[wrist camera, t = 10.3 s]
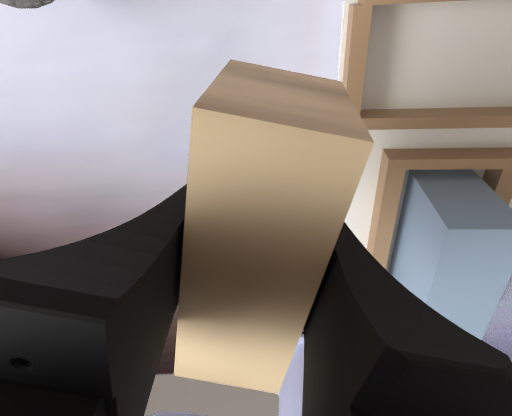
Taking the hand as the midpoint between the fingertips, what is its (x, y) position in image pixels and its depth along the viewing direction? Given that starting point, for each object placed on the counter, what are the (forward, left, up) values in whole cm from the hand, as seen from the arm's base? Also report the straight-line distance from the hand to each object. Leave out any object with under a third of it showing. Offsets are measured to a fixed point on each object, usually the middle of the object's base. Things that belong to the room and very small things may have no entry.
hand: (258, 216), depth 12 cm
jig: (-4, -10, -10) cm, 15 cm away
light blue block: (-7, -10, -9) cm, 15 cm away
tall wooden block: (0, 0, -2) cm, 2 cm away
